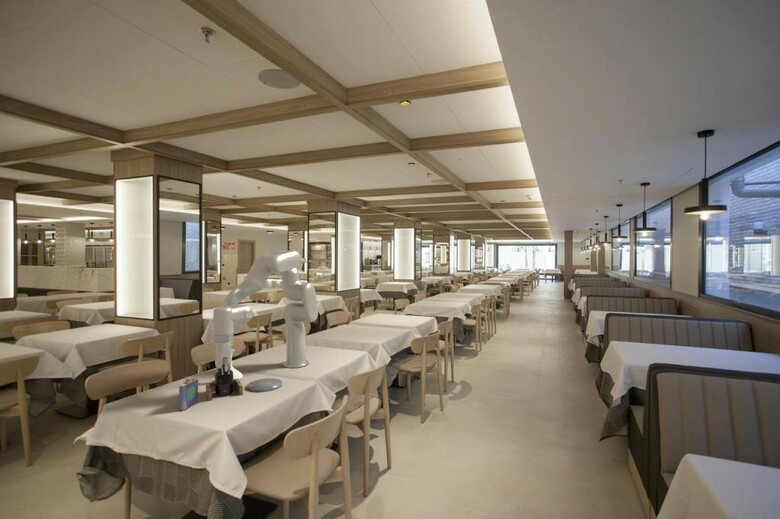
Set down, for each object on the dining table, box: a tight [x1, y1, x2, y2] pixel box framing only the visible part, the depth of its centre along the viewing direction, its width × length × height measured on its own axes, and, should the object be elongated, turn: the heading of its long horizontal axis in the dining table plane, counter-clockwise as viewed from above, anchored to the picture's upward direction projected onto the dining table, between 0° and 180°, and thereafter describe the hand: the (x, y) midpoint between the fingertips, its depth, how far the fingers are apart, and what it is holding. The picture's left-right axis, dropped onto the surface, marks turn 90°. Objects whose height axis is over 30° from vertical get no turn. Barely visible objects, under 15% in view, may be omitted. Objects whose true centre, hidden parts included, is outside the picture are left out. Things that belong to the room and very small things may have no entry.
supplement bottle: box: [214, 367, 235, 398], centre depth 155 cm, size 7×7×12 cm
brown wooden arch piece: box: [205, 379, 244, 402], centre depth 155 cm, size 11×12×4 cm
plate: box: [246, 377, 283, 393], centre depth 164 cm, size 14×14×1 cm
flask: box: [178, 376, 199, 412], centre depth 142 cm, size 9×3×11 cm, turn 173°
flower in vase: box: [209, 330, 244, 381], centre depth 170 cm, size 13×11×25 cm
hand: (223, 380), depth 155 cm, fingers open, 9 cm apart
